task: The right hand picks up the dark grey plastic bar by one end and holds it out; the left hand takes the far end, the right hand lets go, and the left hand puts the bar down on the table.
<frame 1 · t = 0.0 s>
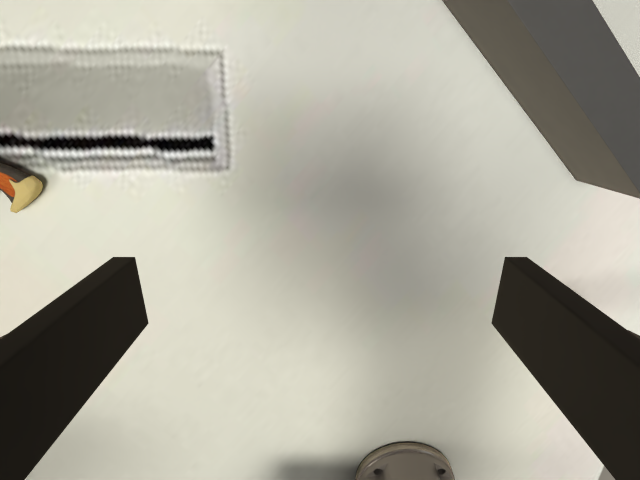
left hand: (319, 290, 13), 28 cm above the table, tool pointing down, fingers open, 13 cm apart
bar: (524, 68, 35), on the table
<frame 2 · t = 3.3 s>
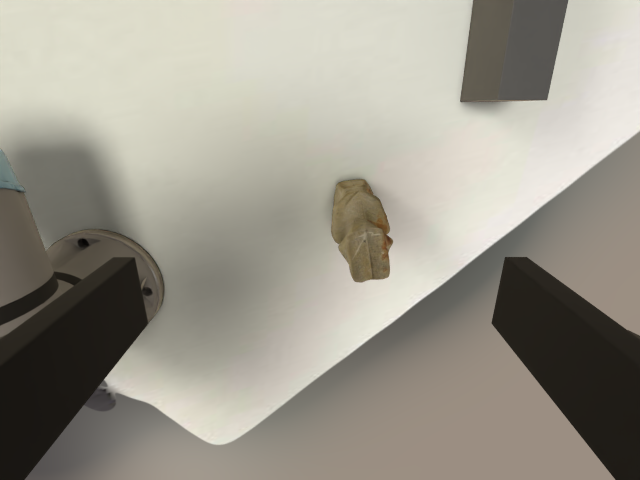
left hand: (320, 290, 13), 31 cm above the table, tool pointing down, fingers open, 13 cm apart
sculpture: (352, 203, 44), on the table
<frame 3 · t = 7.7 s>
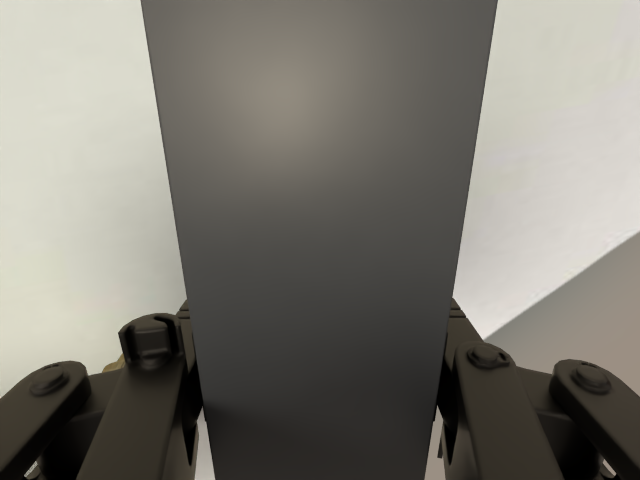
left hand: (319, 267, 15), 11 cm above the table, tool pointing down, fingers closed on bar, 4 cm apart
when the right hand's fingers open (11 cm above the table, at t = 8.3 s): bar stays where it is, held by the left hand.
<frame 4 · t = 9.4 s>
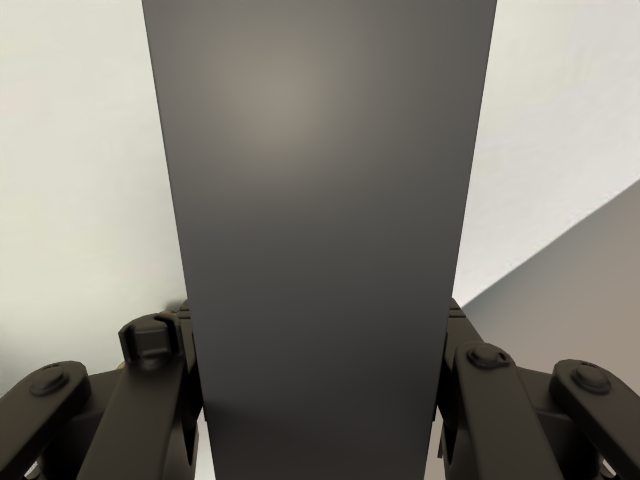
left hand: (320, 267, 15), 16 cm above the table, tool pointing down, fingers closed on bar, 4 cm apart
when the left hand's fingers open (2 cm above the table, at t = 16.2 s): bar drops 2 cm, on the table.
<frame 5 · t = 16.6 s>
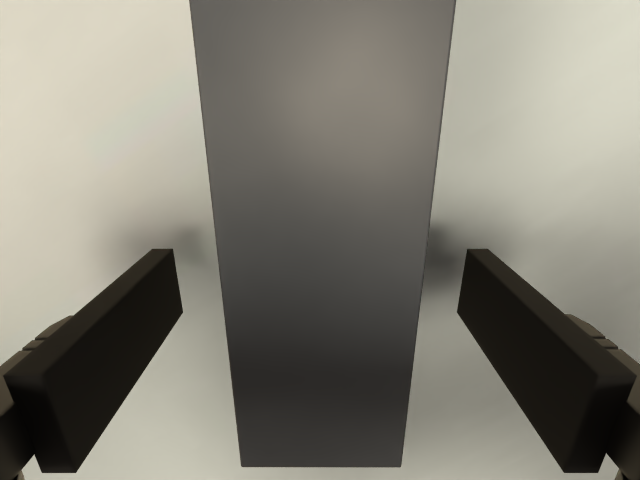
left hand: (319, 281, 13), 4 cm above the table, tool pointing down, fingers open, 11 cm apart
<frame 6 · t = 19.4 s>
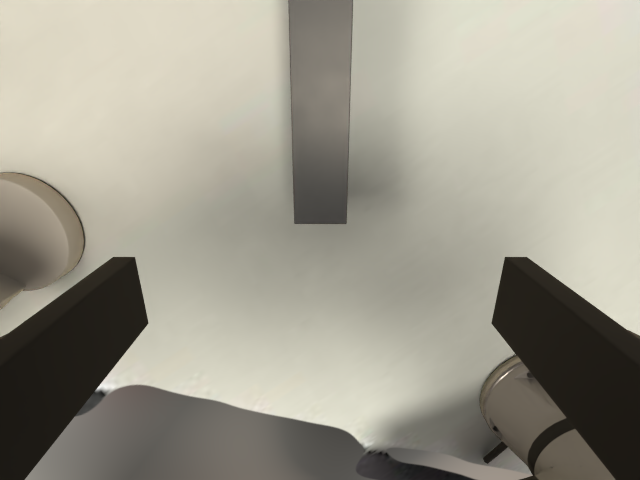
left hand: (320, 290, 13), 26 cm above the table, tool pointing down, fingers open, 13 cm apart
bar: (320, 56, 33), on the table
bust sculpture: (31, 259, 41), on the table
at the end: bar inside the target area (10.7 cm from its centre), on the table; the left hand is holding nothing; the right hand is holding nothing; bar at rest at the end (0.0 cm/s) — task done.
